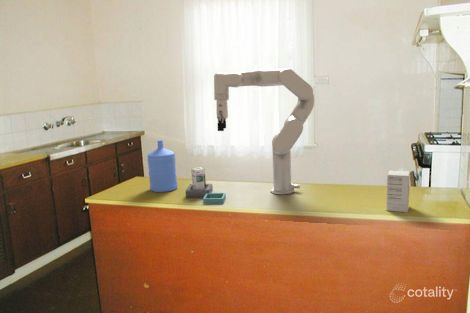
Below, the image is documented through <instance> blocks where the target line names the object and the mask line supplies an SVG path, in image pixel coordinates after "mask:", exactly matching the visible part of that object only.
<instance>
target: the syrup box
mask: <svg viewBox="0 0 470 313" xmlns="http://www.w3.org/2000/svg"><path fill="white" fill-rule="evenodd" d="M190 171H191V181H192V182H191V184H192V185H193V189H206V184H207V183H206V170H205V167H201V166H199V167H195V168H194V167H193V168H191V169H190Z"/></svg>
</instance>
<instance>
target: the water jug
mask: <svg viewBox="0 0 470 313" xmlns="http://www.w3.org/2000/svg"><path fill="white" fill-rule="evenodd" d="M175 154H176V153H175V152H174V151H173V150H170V149H167V148H165V147H164V141H163V140H158V141H157V148H156V149H154V150H153V151H151V152H149V153H148V154H147V164H148V177H149V190H150V191H151V192H155V193H167V192H172V191H174V190H176V189H178V181H177V180H178V179H177V173H176V172H177V171H176V155H175Z"/></svg>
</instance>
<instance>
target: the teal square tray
mask: <svg viewBox="0 0 470 313" xmlns="http://www.w3.org/2000/svg"><path fill="white" fill-rule="evenodd" d="M226 195H227V194H226V192H212V193H206V194H205V196H204V197H202V198H203V199H202V202H203V203H208V204H210V203H211V204H224V203H225V200H226V198H227V196H226ZM208 204H207V205H208ZM211 204H210V205H211Z"/></svg>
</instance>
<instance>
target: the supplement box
mask: <svg viewBox="0 0 470 313" xmlns="http://www.w3.org/2000/svg"><path fill="white" fill-rule="evenodd" d="M410 173H411V172H410V171H409V170H388V173H387V175H386V176H387V177H386V212H387V211H391V212H397V213H398V212H400V213H408V212H409V208H410V207H409V206H410V204H409V202H410V181H411V178H410V176H411V174H410Z"/></svg>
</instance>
